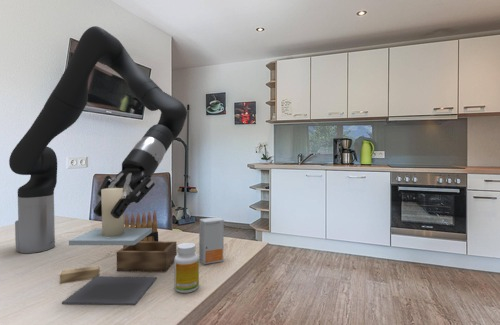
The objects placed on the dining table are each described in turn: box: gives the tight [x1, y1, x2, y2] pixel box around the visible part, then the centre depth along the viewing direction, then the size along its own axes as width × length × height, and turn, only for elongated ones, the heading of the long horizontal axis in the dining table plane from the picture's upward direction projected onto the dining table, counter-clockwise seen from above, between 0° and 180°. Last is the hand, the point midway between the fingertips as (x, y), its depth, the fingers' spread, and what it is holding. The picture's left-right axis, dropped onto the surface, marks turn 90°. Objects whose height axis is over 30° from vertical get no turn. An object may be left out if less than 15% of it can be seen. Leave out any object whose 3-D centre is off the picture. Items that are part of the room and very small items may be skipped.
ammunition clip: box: [122, 210, 159, 248], centre depth 88 cm, size 11×2×12 cm, turn 132°
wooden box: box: [116, 240, 178, 273], centre depth 76 cm, size 13×9×5 cm
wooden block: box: [59, 265, 101, 285], centre depth 67 cm, size 8×2×2 cm, turn 113°
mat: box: [61, 275, 158, 306], centre depth 61 cm, size 15×12×1 cm
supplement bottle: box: [173, 242, 200, 294], centre depth 62 cm, size 5×5×10 cm
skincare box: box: [198, 216, 225, 265], centre depth 78 cm, size 6×4×12 cm
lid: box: [68, 187, 152, 246], centre depth 61 cm, size 14×10×11 cm
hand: (105, 215), depth 59 cm, fingers closed on lid, 4 cm apart
